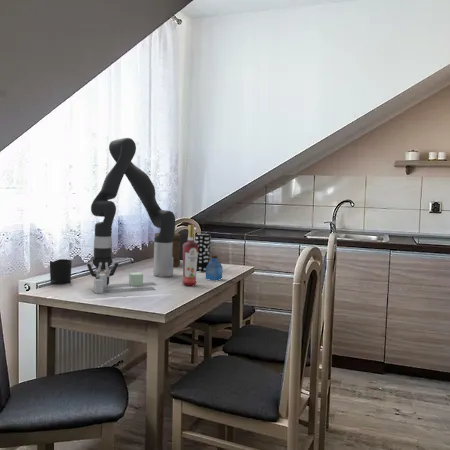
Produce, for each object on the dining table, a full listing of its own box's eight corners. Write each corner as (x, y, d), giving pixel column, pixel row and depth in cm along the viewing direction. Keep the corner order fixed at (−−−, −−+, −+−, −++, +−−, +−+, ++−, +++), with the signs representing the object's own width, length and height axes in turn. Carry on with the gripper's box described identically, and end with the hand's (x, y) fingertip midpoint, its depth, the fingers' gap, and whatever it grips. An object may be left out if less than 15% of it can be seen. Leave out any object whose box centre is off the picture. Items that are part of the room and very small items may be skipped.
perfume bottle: (222, 279, 243) (222, 255, 242) (216, 281, 237) (217, 256, 236) (211, 277, 245) (211, 254, 244) (205, 279, 240) (206, 255, 239)
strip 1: (153, 283, 224) (153, 271, 223) (157, 286, 218) (157, 273, 218) (96, 287, 213) (96, 274, 212) (98, 289, 207) (99, 276, 207)
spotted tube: (207, 272, 258) (208, 235, 257) (192, 271, 260) (193, 234, 258) (211, 270, 267) (212, 234, 265) (196, 269, 268) (197, 233, 267)
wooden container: (152, 263, 282) (153, 225, 280) (177, 263, 286) (178, 226, 284) (156, 267, 267) (157, 228, 266) (182, 267, 272) (183, 228, 270)
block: (139, 283, 221) (140, 272, 220) (142, 285, 216) (143, 274, 216) (129, 283, 218) (129, 272, 218) (131, 286, 214) (132, 274, 214)
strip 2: (152, 288, 213) (152, 275, 213) (156, 291, 208) (156, 278, 208) (92, 292, 202) (92, 278, 202) (94, 295, 197) (95, 281, 196)
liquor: (185, 287, 220) (186, 226, 218) (178, 283, 227) (180, 224, 224) (199, 286, 224) (201, 226, 221) (193, 283, 230) (195, 224, 228)
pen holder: (49, 281, 222) (49, 259, 221) (70, 280, 226) (70, 259, 225) (50, 285, 214) (50, 262, 213) (72, 284, 217) (72, 262, 216)
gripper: (117, 245, 216) (116, 283, 217) (84, 245, 210) (84, 284, 211) (120, 247, 209) (120, 286, 210) (87, 247, 203) (87, 288, 204)
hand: (102, 285), depth 211 cm, fingers closed on strip 1, 3 cm apart
